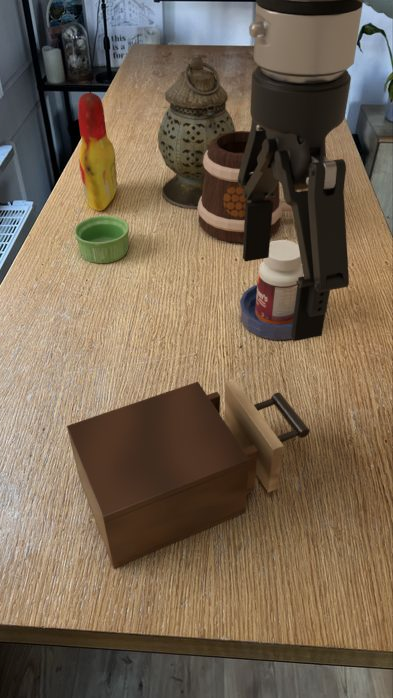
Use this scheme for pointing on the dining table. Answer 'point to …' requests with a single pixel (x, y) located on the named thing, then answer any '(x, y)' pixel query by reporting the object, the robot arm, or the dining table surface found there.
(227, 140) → the mug
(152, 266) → the dining table surface
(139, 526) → the cabinet
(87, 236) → the ramekin
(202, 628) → the dining table surface
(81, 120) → the bottle
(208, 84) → the lantern
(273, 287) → the pill bottle
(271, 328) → the bowl
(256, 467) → the drawer
